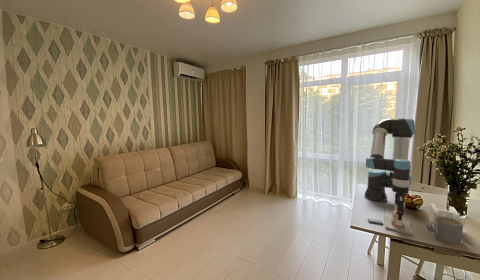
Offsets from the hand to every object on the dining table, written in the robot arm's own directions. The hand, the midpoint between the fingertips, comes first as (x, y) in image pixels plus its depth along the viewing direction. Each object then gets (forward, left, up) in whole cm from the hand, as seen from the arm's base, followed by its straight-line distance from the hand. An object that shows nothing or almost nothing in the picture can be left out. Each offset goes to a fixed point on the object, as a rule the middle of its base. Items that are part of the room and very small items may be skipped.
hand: (397, 219), depth 114 cm
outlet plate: (-1, 0, -4) cm, 4 cm away
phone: (+2, -11, -4) cm, 12 cm away
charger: (0, 0, -4) cm, 4 cm away
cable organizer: (-14, +22, -4) cm, 26 cm away
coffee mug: (0, +19, -4) cm, 20 cm away
